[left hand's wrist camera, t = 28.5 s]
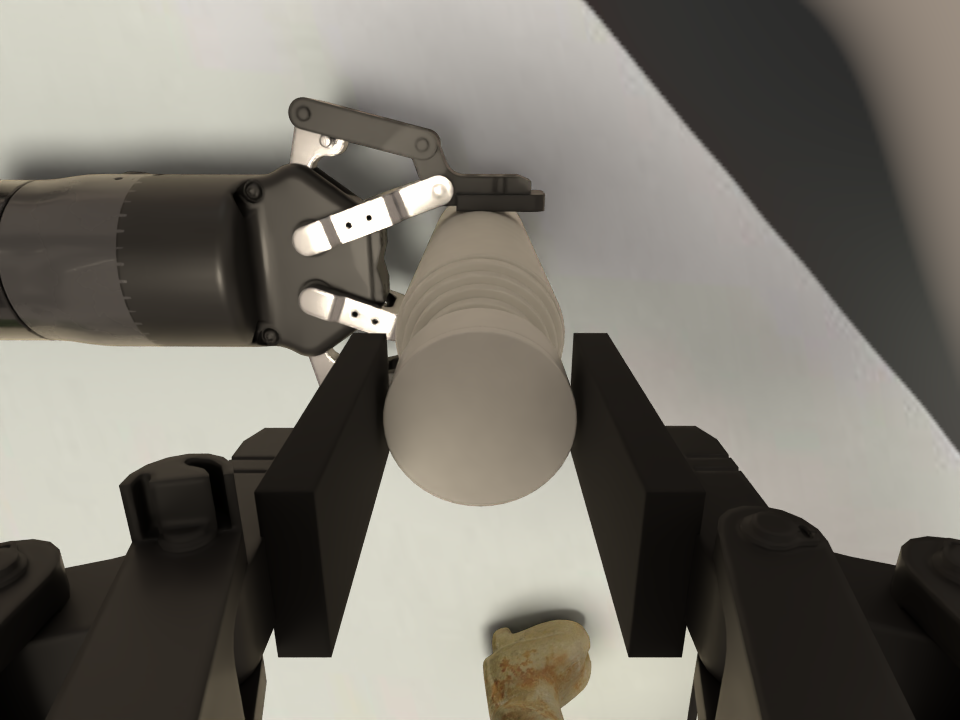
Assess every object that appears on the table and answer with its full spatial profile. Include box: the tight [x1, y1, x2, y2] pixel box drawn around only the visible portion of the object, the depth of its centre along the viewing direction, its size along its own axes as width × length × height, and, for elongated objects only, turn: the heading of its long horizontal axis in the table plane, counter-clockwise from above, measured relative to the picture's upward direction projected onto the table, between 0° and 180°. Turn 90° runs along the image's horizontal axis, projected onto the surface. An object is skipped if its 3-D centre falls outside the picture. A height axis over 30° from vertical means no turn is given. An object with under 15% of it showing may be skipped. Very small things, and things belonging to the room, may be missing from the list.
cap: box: [383, 308, 577, 506], centre depth 14 cm, size 4×4×2 cm
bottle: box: [395, 206, 565, 358], centre depth 24 cm, size 5×5×22 cm
